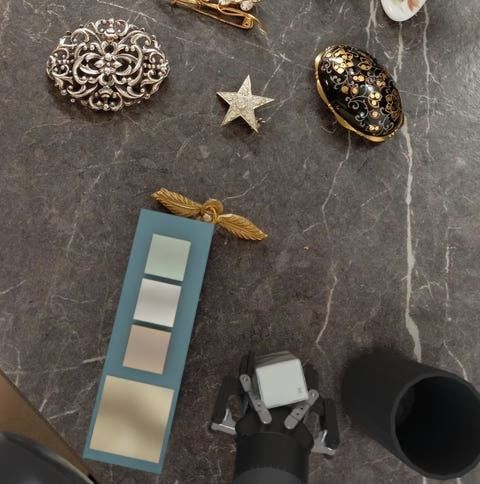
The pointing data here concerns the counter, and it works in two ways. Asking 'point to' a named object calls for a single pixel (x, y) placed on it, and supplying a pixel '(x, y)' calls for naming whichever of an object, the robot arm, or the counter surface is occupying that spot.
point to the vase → (416, 413)
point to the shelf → (181, 329)
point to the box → (279, 379)
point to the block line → (144, 362)
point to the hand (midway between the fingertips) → (279, 362)
